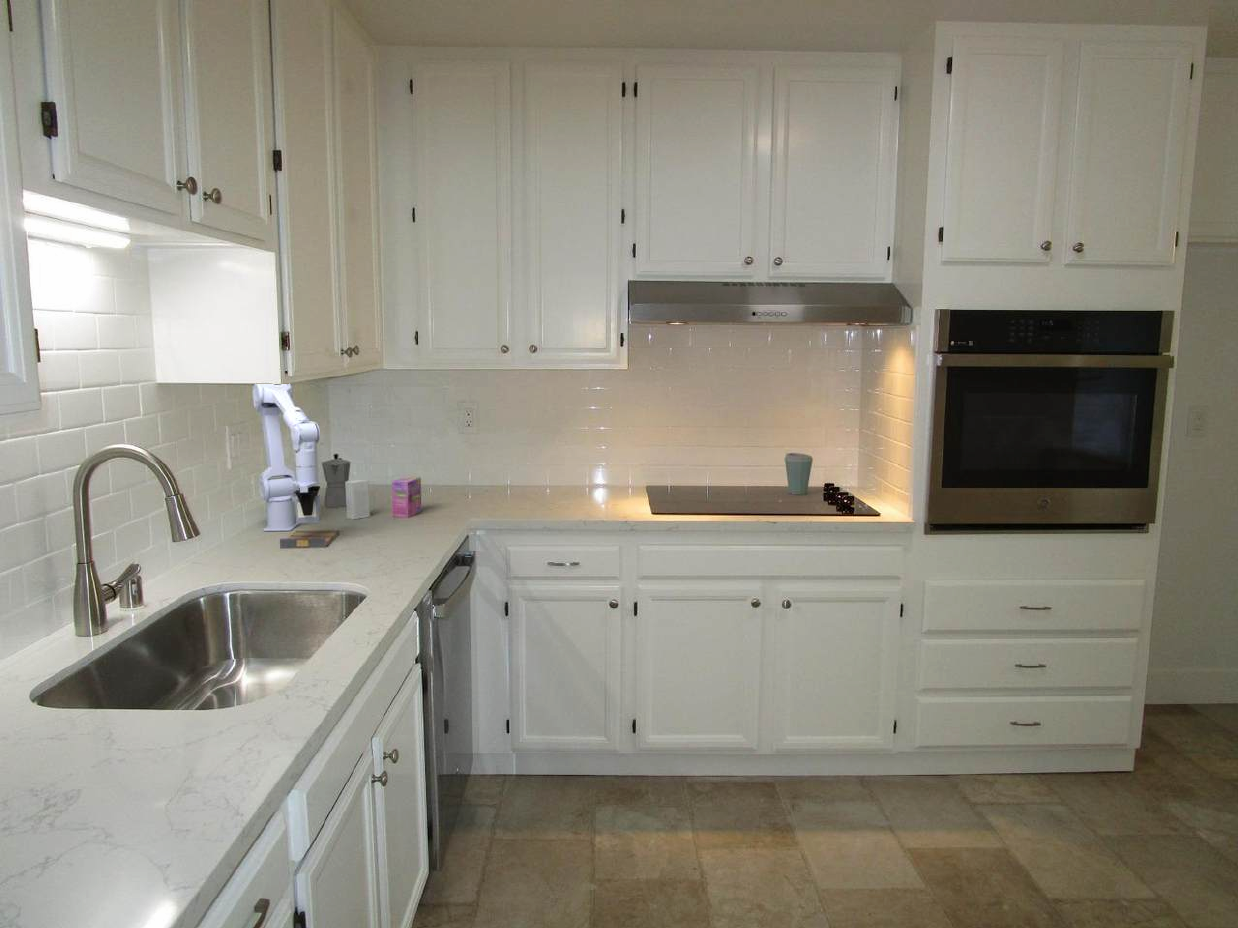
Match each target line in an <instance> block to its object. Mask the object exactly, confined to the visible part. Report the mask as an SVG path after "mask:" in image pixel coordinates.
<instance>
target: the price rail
mask: <svg viewBox="0 0 1238 928" xmlns="http://www.w3.org/2000/svg"><path fill="white" fill-rule="evenodd" d="M310 547H326V538H289V539H287V538H280V539H279V548H280V549H311V548H310ZM326 548H327V547H326Z"/></svg>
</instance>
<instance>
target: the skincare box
mask: <svg viewBox="0 0 1238 928" xmlns="http://www.w3.org/2000/svg"><path fill="white" fill-rule="evenodd" d="M345 487H346V506H347V507H346V517H347V519H349V518H350V519H349V520H353V519H355V520H358V519H359V518H361V519H365V518H369V517H371V510H370V493H369V492H370V490H369V480H368V479H355V480H348V481H347V482H345Z"/></svg>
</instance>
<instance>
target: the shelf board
mask: <svg viewBox="0 0 1238 928" xmlns="http://www.w3.org/2000/svg"><path fill="white" fill-rule="evenodd" d="M339 532H340V531H339V529H328V530H327V529H322V530H321V529H320V530H312V529H311V530H296V531H294V532H292V534H291V535H289V536H288V537H287V538H286V539H289V538H326V546H327V545H328V544H329V543H330V544H331V543H332V542H333V541H334V539H335V538H336V537H337V536H339V534H340V533H339ZM330 544H329V545H330ZM327 547H328V546H327Z"/></svg>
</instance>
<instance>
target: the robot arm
mask: <svg viewBox="0 0 1238 928" xmlns="http://www.w3.org/2000/svg"><path fill="white" fill-rule="evenodd" d="M252 399H253V407H254V409H255V411H256V412H257V413H259V414H260V417H261V423H262V424H261V425H262V431H263V432H262V433H263V440H264V447H265V448H264V449H265V454H266V455H265V456H266V462H267V468H266V469H265V470H263V472H261V473H260V475H259V477H258V478H259V479H258V481H259V482H258V483H259V485H258V491H259V494H260V497H261V498H262V499H263V500H264V501H265V502H266V517H267V521H266V522H267V526H266V527H264V528H263V532H273V531H274V532H283V531H284V532H285V531H287V532H288V531H292V530H293V529H295V528H296V527H297V526H298V525H300V523H296V510H295V501H294V500H295V497H298V499H299V501H300V504H301V508H302V512H303V515H304V516H309V515H312V512H313V503H314V498H315V496H318V494H319V491H320V489H321V486H320V485H319V484H320V481H319V468H318V467H319V466H318V447H317V443H318V442H320V437H321V431H320V427H319V424H318V423H317V422H315V421H313V420H312V421H310V420H309V418H308V416H307V415H306V414H305V412H304V411H303V409H301V408H300V407H297V406H296V405H295V403H294V401H293V387H292V385H291V383H289V384H281V385H274V384H256V383H255V384H254V385H253V388H252ZM281 412H282V413H283V415H282V419H283V421H284V423H285V424H286V426H287V427H288V429H289V430H290V439H291V441H292V448H293V451H295V452H294V454H295V455H294V457H295V458H294V459H295V471H294V470H292V469H291V468H289V467H287V466H286V461H285V455H284V453H285V452H284V446H283V439H282V432H281V431H282V430H281V423H280V417H279V416H280V413H281Z"/></svg>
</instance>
